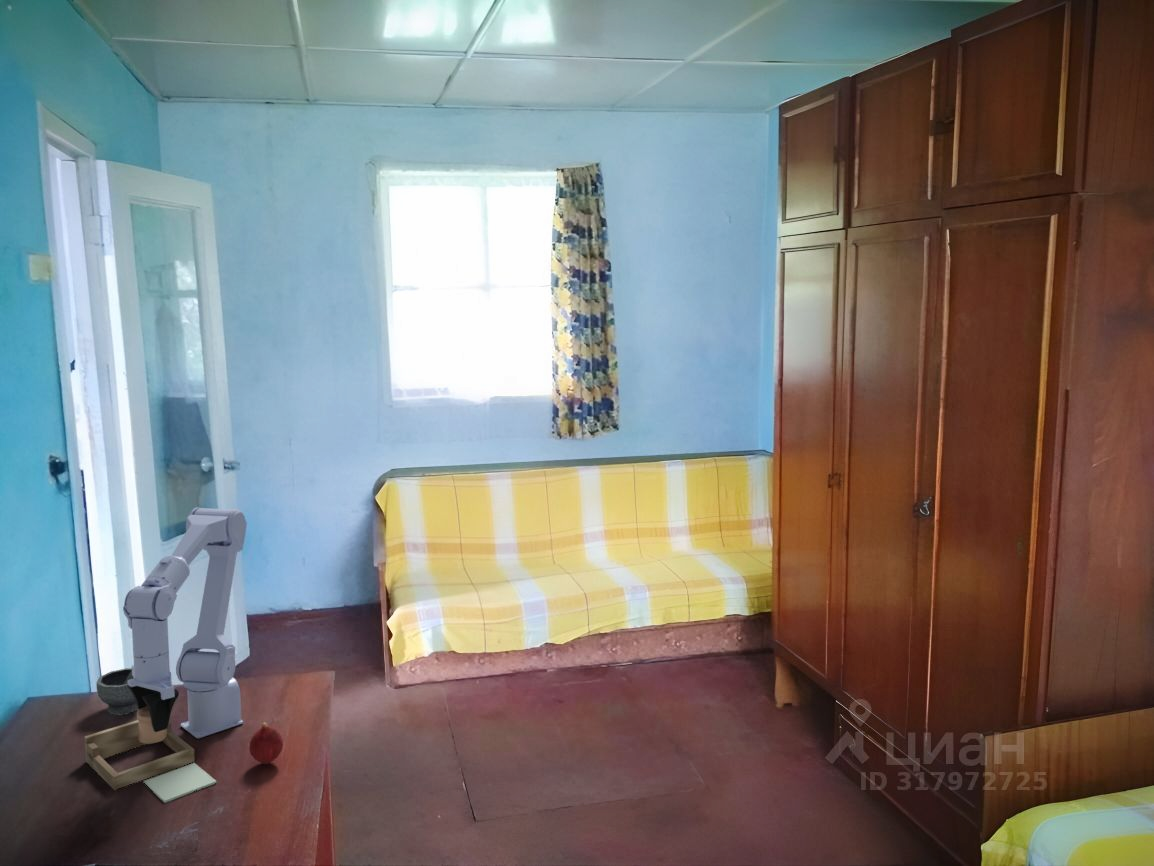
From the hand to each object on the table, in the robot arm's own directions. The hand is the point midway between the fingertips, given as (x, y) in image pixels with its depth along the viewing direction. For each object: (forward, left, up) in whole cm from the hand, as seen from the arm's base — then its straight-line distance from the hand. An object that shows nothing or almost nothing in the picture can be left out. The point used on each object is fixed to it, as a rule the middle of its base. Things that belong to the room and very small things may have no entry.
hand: (154, 724), depth 158 cm
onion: (-15, +11, -9) cm, 21 cm away
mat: (-1, +7, -9) cm, 11 cm away
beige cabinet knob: (0, 0, -2) cm, 2 cm away
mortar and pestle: (-6, -31, -9) cm, 32 cm away
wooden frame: (+1, -6, -9) cm, 11 cm away
